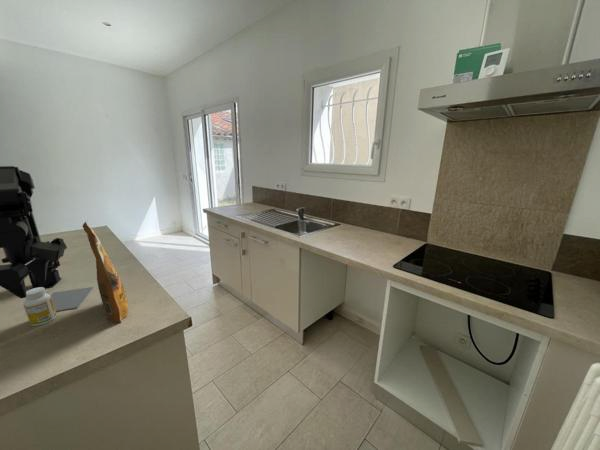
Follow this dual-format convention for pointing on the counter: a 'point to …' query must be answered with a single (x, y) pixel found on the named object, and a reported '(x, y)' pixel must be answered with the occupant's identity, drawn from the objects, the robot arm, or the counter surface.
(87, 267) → the counter surface
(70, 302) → the mat
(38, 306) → the supplement bottle
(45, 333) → the counter surface
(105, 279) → the pancake mix bag
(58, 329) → the counter surface
